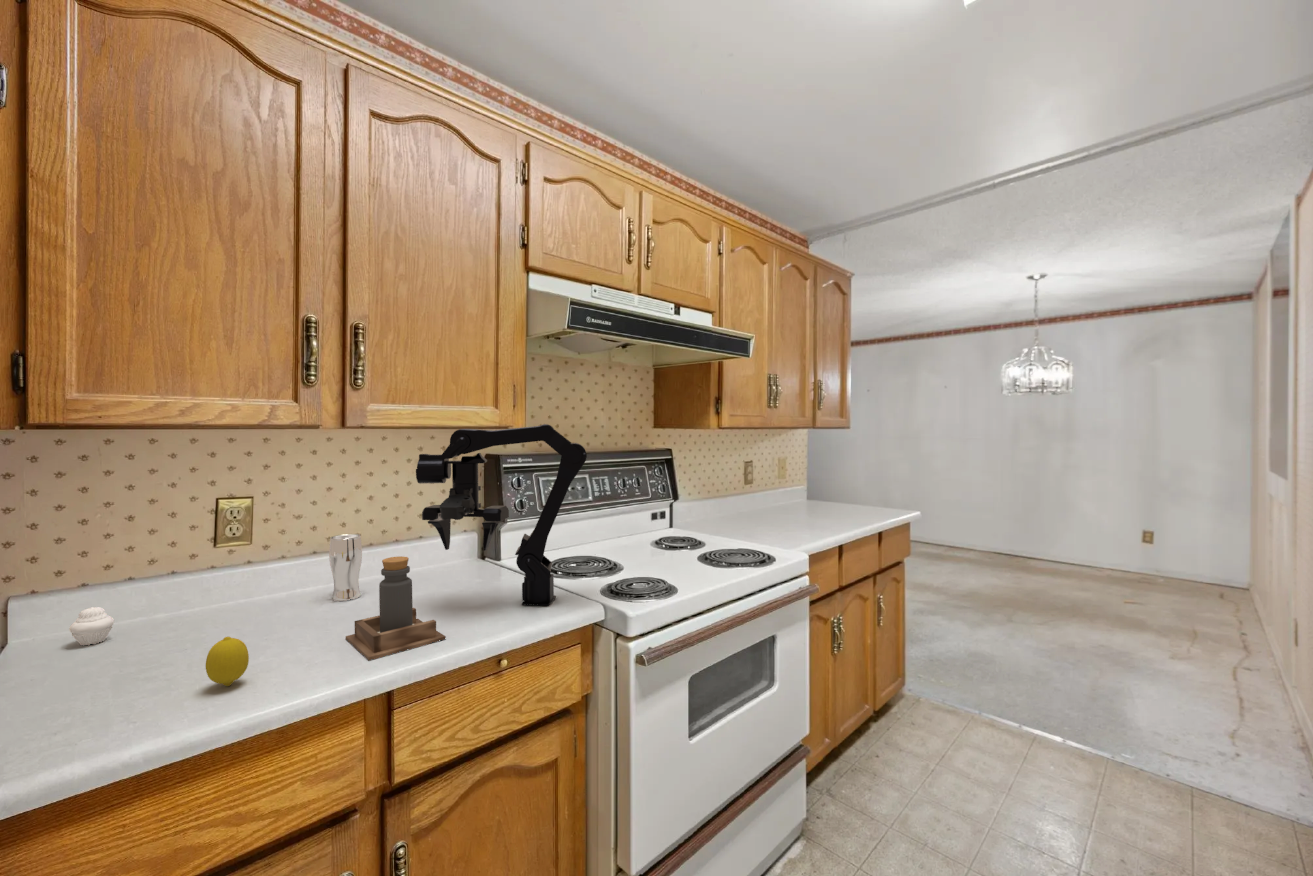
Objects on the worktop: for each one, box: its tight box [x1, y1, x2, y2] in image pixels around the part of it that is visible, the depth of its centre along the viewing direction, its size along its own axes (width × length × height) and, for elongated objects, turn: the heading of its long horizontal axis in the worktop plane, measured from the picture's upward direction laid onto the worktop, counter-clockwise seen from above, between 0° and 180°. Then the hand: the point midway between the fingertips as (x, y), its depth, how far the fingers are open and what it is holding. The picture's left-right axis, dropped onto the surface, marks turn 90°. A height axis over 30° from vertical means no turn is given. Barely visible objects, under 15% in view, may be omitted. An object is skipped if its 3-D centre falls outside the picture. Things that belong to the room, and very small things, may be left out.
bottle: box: [378, 555, 413, 633], centre depth 109 cm, size 6×6×15 cm
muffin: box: [68, 606, 115, 646], centre depth 108 cm, size 6×6×7 cm
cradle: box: [345, 607, 447, 661], centre depth 109 cm, size 14×14×4 cm
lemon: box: [205, 636, 250, 687], centre depth 90 cm, size 6×6×8 cm
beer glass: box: [328, 533, 363, 602], centre depth 136 cm, size 7×7×15 cm
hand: (466, 549), depth 129 cm, fingers open, 9 cm apart
